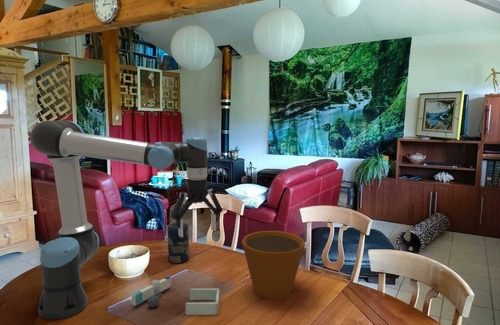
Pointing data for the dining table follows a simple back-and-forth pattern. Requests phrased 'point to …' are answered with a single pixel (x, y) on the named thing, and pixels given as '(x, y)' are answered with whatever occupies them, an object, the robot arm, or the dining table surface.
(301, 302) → the dining table surface
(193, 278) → the dining table surface
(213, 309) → the box
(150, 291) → the teal-tipped knobbed bar
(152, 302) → the ball
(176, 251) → the canister
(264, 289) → the flower pot
